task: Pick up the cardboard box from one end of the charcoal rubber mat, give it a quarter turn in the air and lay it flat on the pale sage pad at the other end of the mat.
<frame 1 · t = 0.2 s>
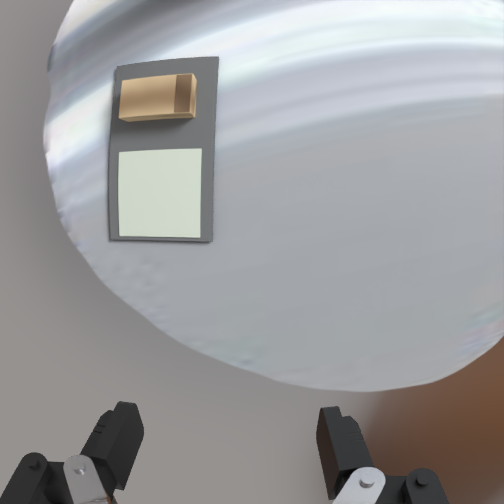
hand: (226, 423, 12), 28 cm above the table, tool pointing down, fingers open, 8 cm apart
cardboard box: (161, 100, 34), resting on mat
mat: (160, 146, 36), on the table
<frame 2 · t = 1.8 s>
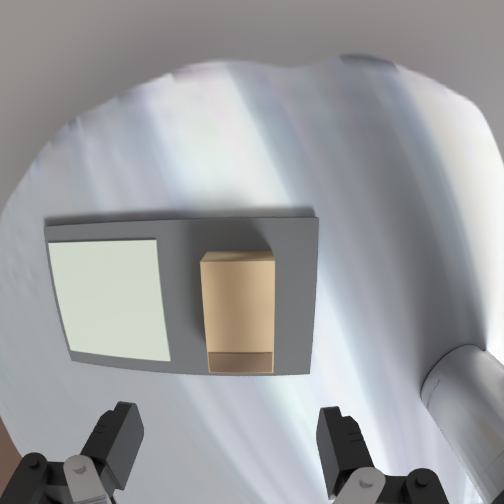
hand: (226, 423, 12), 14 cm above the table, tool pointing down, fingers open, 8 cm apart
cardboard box: (240, 305, 24), resting on mat
mat: (170, 302, 25), on the table
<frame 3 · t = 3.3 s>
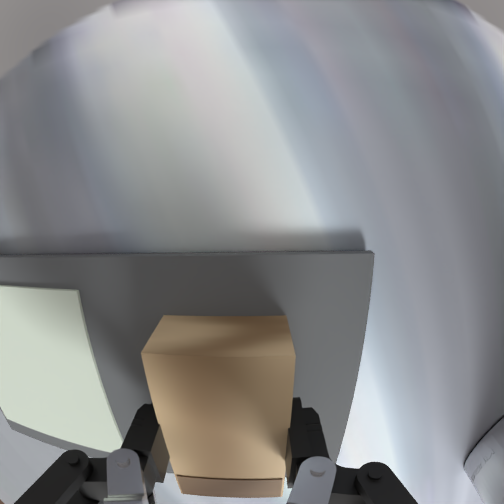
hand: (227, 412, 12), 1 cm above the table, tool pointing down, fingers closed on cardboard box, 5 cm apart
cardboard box: (229, 400, 13), resting on mat, touching gripper
mat: (115, 384, 14), on the table
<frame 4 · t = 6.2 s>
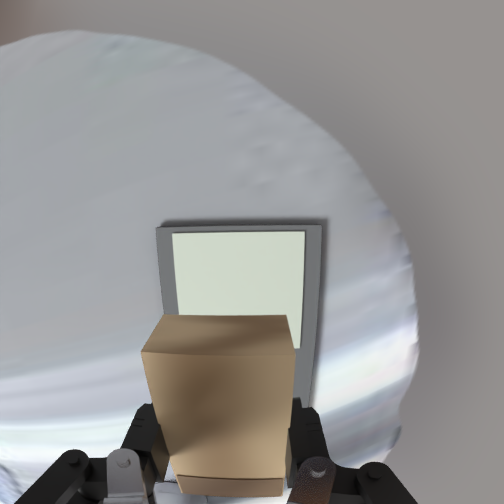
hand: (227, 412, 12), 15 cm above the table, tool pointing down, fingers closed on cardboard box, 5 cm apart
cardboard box: (229, 399, 13), point 14 cm above the table, touching gripper
mat: (241, 350, 28), on the table
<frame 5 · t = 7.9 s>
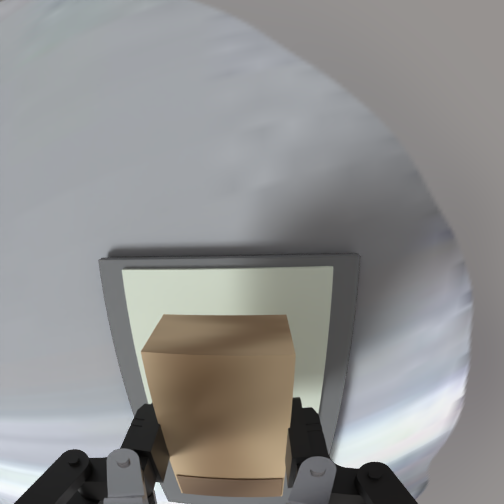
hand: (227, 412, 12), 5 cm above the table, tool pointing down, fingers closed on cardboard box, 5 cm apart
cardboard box: (229, 399, 13), point 4 cm above the table, touching gripper
mat: (234, 425, 19), on the table
when the fingers open (3 cm above the table, at t = 9.2 s): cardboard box drops 1 cm, resting on mat.
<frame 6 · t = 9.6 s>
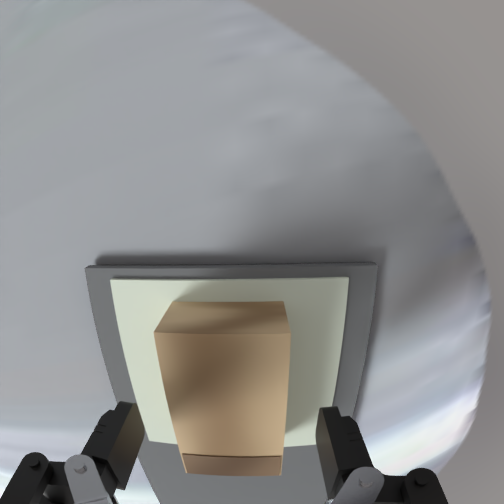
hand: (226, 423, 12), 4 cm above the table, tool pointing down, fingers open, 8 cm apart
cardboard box: (231, 381, 15), point 1 cm above the table, touching mat
mat: (236, 444, 17), on the table
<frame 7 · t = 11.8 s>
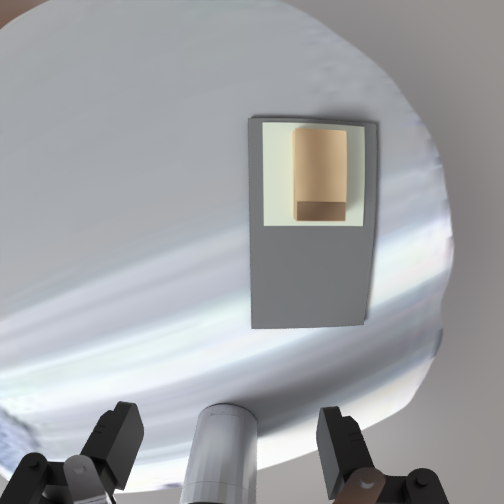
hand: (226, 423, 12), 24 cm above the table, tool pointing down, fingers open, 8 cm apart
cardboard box: (316, 174, 31), point 1 cm above the table, touching mat
mat: (313, 229, 33), on the table
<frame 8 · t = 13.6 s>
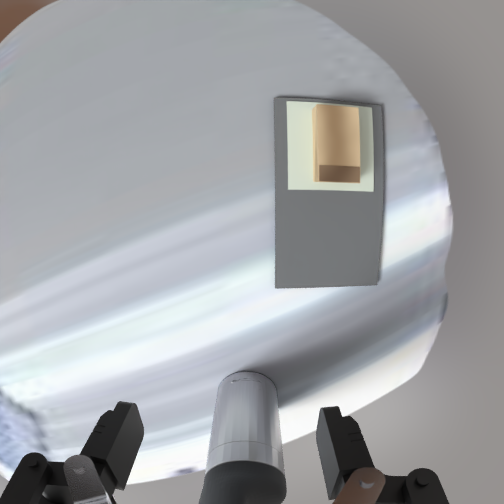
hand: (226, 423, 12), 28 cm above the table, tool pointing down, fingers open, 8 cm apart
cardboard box: (332, 145, 35), point 1 cm above the table, touching mat
mat: (331, 194, 37), on the table
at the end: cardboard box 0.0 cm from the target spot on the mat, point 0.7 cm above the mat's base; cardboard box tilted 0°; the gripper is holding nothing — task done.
